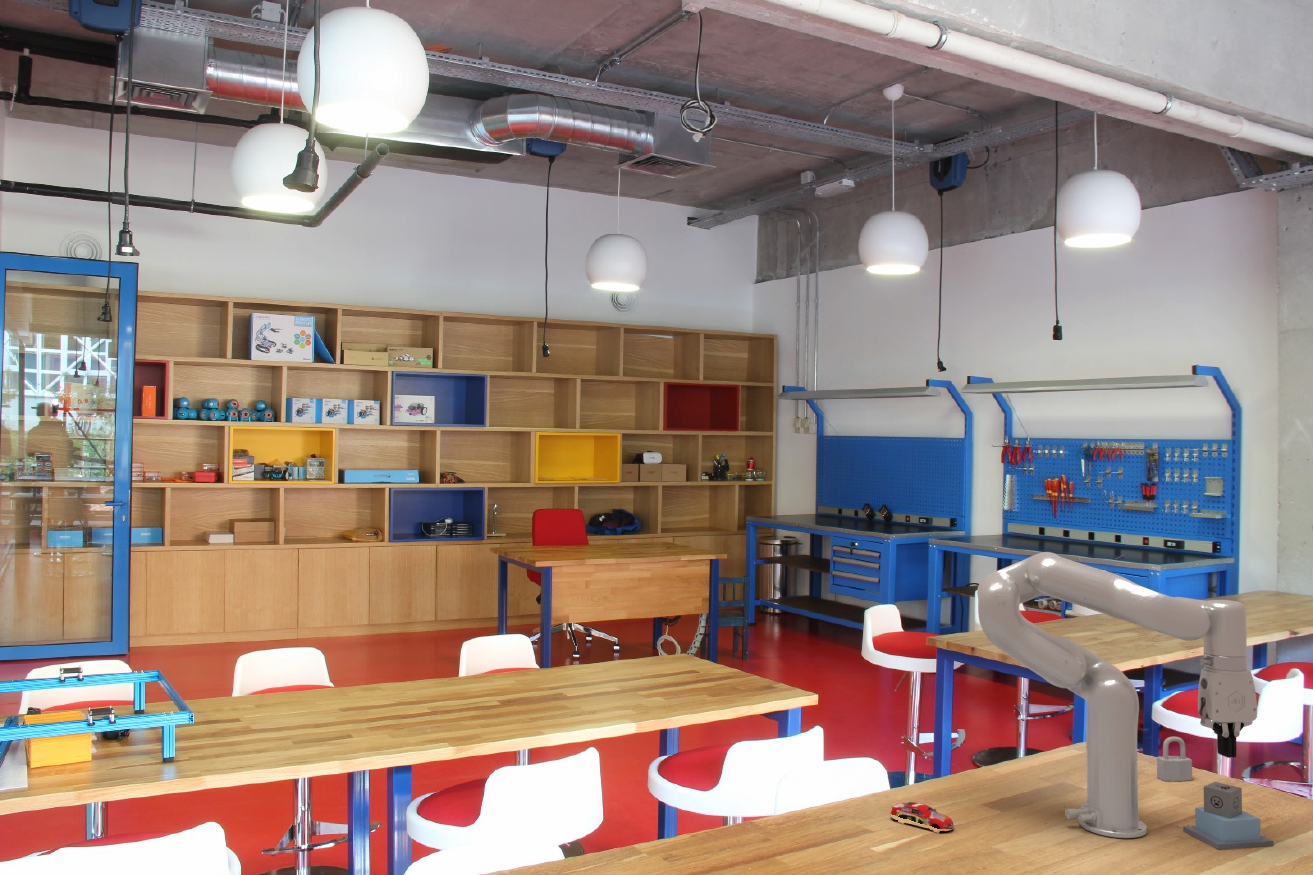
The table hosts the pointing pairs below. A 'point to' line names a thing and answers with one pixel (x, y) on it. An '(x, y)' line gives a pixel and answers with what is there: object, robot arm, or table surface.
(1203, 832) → the base
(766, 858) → the table surface
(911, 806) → the race car
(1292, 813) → the table surface
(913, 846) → the table surface
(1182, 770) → the padlock
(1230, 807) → the dice cube
